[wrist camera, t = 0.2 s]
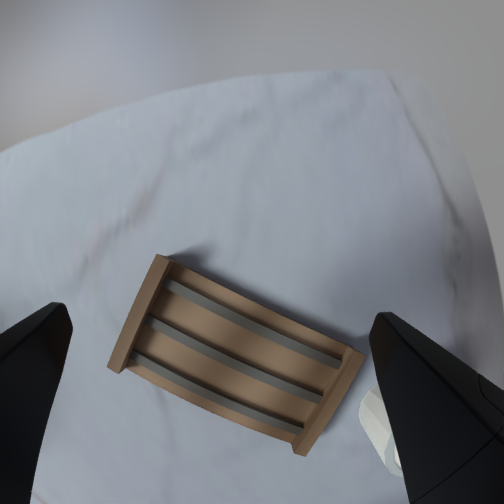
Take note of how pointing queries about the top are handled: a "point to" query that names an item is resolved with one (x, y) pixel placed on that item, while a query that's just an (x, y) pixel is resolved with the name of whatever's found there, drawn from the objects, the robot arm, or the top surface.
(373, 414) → the white tapered cylinder
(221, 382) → the rack
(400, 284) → the top surface
